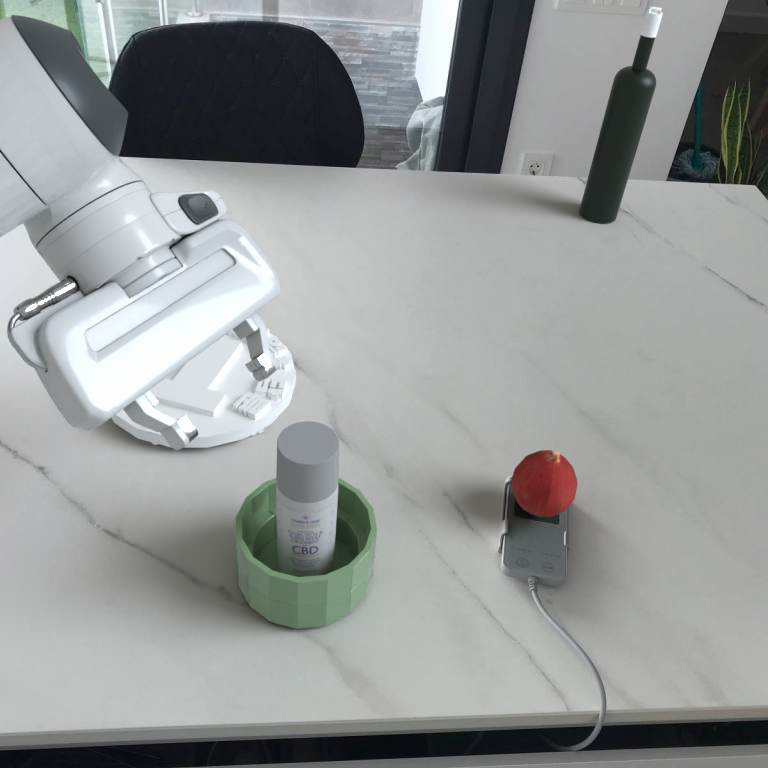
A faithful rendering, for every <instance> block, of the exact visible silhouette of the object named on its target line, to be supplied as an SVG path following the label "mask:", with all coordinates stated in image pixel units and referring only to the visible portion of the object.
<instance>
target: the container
mask: <svg viewBox="0 0 768 768" xmlns="http://www.w3.org/2000/svg"><path fill="white" fill-rule="evenodd" d="M339 470H340V439H339V436H338V434H337V433H336V431H335V430H333V429H332V428H331V427H330V426H328V425H326V424H325V423H322V422H317V421H313V420H312V421H311V420H310V421H309V420H305V421H297V422H295V423H294V422H293V423H291V424H290V425H288V426H287V427H285V428H284V429H282V431H281V432H280V433H279V435H278V437H277V441H276V472H275V473H276V477H275V478H276V517H277V569H278V572H281V573H284V574H288V575H292V576H296V577H305V576H317V575H326V574H328V573H331V572H333V568H334V552H335V536H336V520H337V503H338V478H340V477H339V474H340V473H339V472H340V471H339Z"/></svg>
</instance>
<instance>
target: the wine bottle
mask: <svg viewBox="0 0 768 768" xmlns="http://www.w3.org/2000/svg"><path fill="white" fill-rule="evenodd" d="M662 9H663V7H659V6H652V5H650V6H649V9H647V10H646V11H645V13H644V14H645V15H644V19H643V23H642V25H641V29H640V33H639V39H638V43H637V46H636V49H635V50H636V51H635V54H634V57H633V61H632V64H631V65H628V66H625V67H622V68H620V69H619V70H618V71H617V72H616V74H615V75H614V77H613V81H612V84H611V85H612V86H611V89H610V92H609V97H608V100H607V104H606V108H605V111H604V115H603V119H602V123H601V126H600V129H599V134H598V138H597V141H596V145H595V149H594V152H593V157H592V160H591V165H590V168H589V172H588V175H587V180H586V183H585V187H584V191H583V195H582V199H581V201H580V206H579V210H578V212H579V215H580V216H581V217H582V218H584V219H585V220H587V221H588V222H592V223H596V224H611V223H613V222H615V221H616V220H617V217H618V214H619V211H620V207H621V204H622V201H623V198H624V194H625V191H626V187H627V183H628V180H629V177H630V174H631V170H632V167H633V164H634V161H635V158H636V154H637V151H638V147H639V144H640V142H641V141H640V140H641V138H642V134H643V131H644V128H645V123H646V121H647V117H648V114H649V111H650V107H651V103H652V101H653V97H654V93H655V91H656V88H657V78H656V75H655V73H653V71H651V70H650V69H649V68H648V64H649V61H650V58H651V54H652V51H653V48H654V43H655V40H656V37H657V35H658V32H659V29H660V25H661V22H662V19H663V15H664V12H662Z"/></svg>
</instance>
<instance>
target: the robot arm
mask: <svg viewBox="0 0 768 768" xmlns="http://www.w3.org/2000/svg"><path fill="white" fill-rule="evenodd" d="M128 119H129V112H128V110H127V109H126V108H125V106H124V105H123V104H122V103H121V101H119V100H118V99H117V97H116V96H115V95H114V93H112V92H111V90H110V89H109V88H108V87H107V86H106V85H105V84H104V83H103V81H102V80H101V78H100V77H99V76H98V75H97V73H96V72H95V71H94V69H93V68H92V66H91V65H90V63H89V61H88V60H87V58H86V55H85V53H84V50H83V48H82V47H81V45H80V42H79V41H78V39H77V37H76V36H75V34H74V33H73V32H72V31H71V30H70V29H67V28H65V27H61V26H59V25H56V24H53V23H50V22H48V21H45V20H41V19H37V18H35V17H30V16H24V15H17V14H11V15H10V16H9V17H5V18H0V238H2V237H4V236H5V235H7V234H9V233H10V232H12V231H13V230H15V229H17V228H18V227H20V226H22V225H23V226H24V227H25V230H26V232H27V236H28V238H29V240H30V242H31V244H32V246H33V248H34V249H35V250H36V252H37V253H38V255H39V256H40V257H41V258H42V260H43V261H44V262H45V264H46V265H47V266H48V268H49V269H50V270H51V271H52V273H53V274H54V276H55V277H56V278H57V279H58V281H59V282H57V283H55V284H53V285H51V286H50V287H48V288H46V289H45V290H44V291H43V292H41V293H39V294H38V295H36V296H33V297H31V298H27V299H25V300H23V301H22V302H20V303H18V304H17V305H16V306H15V307H14V308H13V314H12V316H11V317H10V318H9V320H8V321H7V322H8V323H7V327H6V334H7V339H8V342H9V343H10V345H11V346H12V347H13V349H14V350H15V351H16V353H17V354H18V355H19V356H20V358H21V359H22V361H24V362H25V364H27V365H28V366H30V367H31V368H33V369H34V371H35V372H36V374H37V377H38V378H39V380H40V381H41V384H42V386H43V387H44V389H45V391H46V392H47V394H48V395H49V397H50V399H51V400H52V402H53V403H54V405H55V407H56V408H57V409H58V411H59V412H60V414H61V415H62V417H63V419H65V421H66V422H67V423H68V424H69V425H70V426H71V427H74V428H77V429H80V430H82V431H83V430H84V431H86V432H87V431H93V429H96V428H98V427H100V426H101V425H103V424H104V423H106V422H107V421H108V420H110V419H112V418H111V417H113V416H114V415H115V414H117V413H118V412H120V411H121V410H122V409H123V410H124V411H125V412H126V414H127V415H128V416H129V417H130V419H131V420H132V421H133V422H135V423H137V424H140V425H142V426H144V427H147V428H149V429H151V430H154V431H156V432H160V433H161V434H162V435H163V437H164V438H165V439H166V441H167V442H168V443H169V445H170V446H171V447H170V448H172V449H173V450H174V451H179V450H182V449H184V447H185V446H187V445H188V444H189V443H190V442H191V441H192V440H194V439H195V438H196V437H197V436H198V430H197V429H196V428H195V427H193V426H192V424H191V421H190V420H189V418H188V417H187V416H186V415H184V416H182V417H180V418H179V419H174V418H172V417H170V416H169V415H167V414H165V413H163V412H161V411H159V410H157V409H155V408H154V407H155V406H157V405H158V404H159V401H158V400H157V398H156V397H155V395H154V394H153V393H152V391H151V390H150V389H151V388H153V387H154V386H155V385H157V384H158V383H160V382H161V381H162V380H164V379H165V378H166V377H168V376H169V375H171V374H172V373H173V372H175V371H176V370H177V369H179V368H180V367H182V366H183V365H184V364H186V363H187V362H189V361H190V360H191V359H193V358H194V357H195V356H197V355H198V354H200V353H201V352H202V351H204V350H205V349H206V348H208V347H209V346H211V345H212V344H213V343H215V342H216V341H217V340H219V339H220V338H222V337H223V336H224V335H226V334H227V333H229V332H230V331H231V330H233V331H234V332H235V333H236V335H237V336H238V338H239V339H243V338H245V337H246V341H247V345H248V350H249V354H250V358H251V360H250V361H249V362H248V363H247V364H245V365H246V367H247V368H248V370H249V371H250V372H252V373H253V377H254V378H255V379H256V380H257V381H262V380H264V379H266V378H268V377H269V376H271V375H272V374H273V373H274V372H275V371H277V370H278V369H279V363H278V362H277V360H276V359H275V358H274V356H273V355H272V353H271V352H270V350H269V343H268V336H267V330H266V328H267V324H266V323H265V321H264V320H263V318H262V316H261V315H260V314H259V311H261V310H262V309H263V308H264V307H266V306H267V305H269V304H270V303H271V302H273V301H274V300H275V299H277V298H278V297H280V295H281V293H282V288H281V287H282V286H281V279H280V276H279V274H278V272H277V271H276V269H275V267H274V266H273V264H272V263H271V262H270V260H269V258H268V257H267V256H266V254H265V253H264V251H263V250H262V248H261V247H260V246H259V244H258V243H257V242H256V241H255V240H254V238H253V237H252V236H251V234H250V233H249V232H248V231H247V230H246V229H245V228H244V227H243V226H242V225H240V223H238V222H236V221H234V220H232V219H229V218H223V217H224V216H225V215H226V214H227V212H228V207H227V204H226V203H225V200H224V199H223V198H222V196H221V195H220V194H219V193H218V192H217V191H215V190H213V189H199V190H190V191H171V192H169V191H167V192H166V191H159V192H158V191H157V192H153V193H152V191H151V190H150V189H149V187H148V186H147V184H146V183H145V181H144V180H143V179H142V178H141V177H140V175H139V174H137V173H136V172H135V171H134V170H133V169H132V168H131V167H129V166H128V165H127V164H126V163H125V162H124V161H123V160H122V159H121V157H120V153H121V150H122V146H123V143H124V142H123V141H124V139H125V133H126V129H127V124H128ZM18 321H20V323H18V324H17V322H18Z"/></svg>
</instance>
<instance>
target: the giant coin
mask: <svg viewBox="0 0 768 768" xmlns="http://www.w3.org/2000/svg"><path fill="white" fill-rule="evenodd" d="M266 330H267V336H268V343H269V350H270V352H271V353H272V355H273V356H274V358H275V359H276V360H277V362H278V363H279V369H278V370H277V371H275V372H274V373H273V374H272V375H271V376H269V377H268V378H266V379H264V380H262V381H257V380H256V379H255V378H254V377H253V373H252V372H250V371H249V370H248V368H247V367H246V365H245V364H247V363H248V362H249V361H250V360H251V358H250V354H249V350H248V345H247V341H246V337H245V338H243V339H239V338H238V336H237V335H236V333H235V332H234V331H233V330H231V331H230V332H229V333H227V334H226V335H224V336H223V337H222V338H220V339H219V340H217V341H216V342H215V343H213V344H212V345H211V346H209V347H208V348H206V349H205V350H204V351H202V352H201V353H200V354H198V355H197V356H195V357H194V358H193V359H191V360H190V361H189V362H187V363H186V364H184V365H183V366H182V367H180V368H179V369H177V370H176V371H175V372H173V373H172V374H171V375H169V376H168V377H166V378H165V379H164V380H162V381H161V382H160V383H158V384H157V385H155V386H154V387H153V388H151V389H150V390H151V391H152V393H153V394H154V395H155V397H156V398H157V400H158V401H159V404H158V405H157V406H155V407H154V408H155V409H157V410H159V411H161V412H163V413H165V414H167V415H169V416H170V417H172V418H174V419H179V418H180V417H182V416H184V415H186V416H187V417H188V418H189V420H190V421H191V424H192V426H193V427H195V428H196V429H197V430H198V436H197V437H196V438H195V439H194V440H192V441H191V442H190V443H189V444H188V445H187V446H185V447H184V448H186V449H187V448H197V449H199V448H200V449H201V448H202V449H203V448H207V449H209V448H212V447H216V446H220V445H221V446H222V445H225V444H229V443H232V442H233V443H234V442H237V441H242V440H245V439H247V438H249V437H254V436H256V435H258V434H262V433H264V432H265V428H266V427H269V426H271V425H273V423H274V422H275V421H276V419H277V418H279V416H280V415H281V414H282V413H283V412H284V411H285V410H286V409H287V408H288V407H289V406H290V404H291V401H292V398H293V395H294V391H295V388H296V384H297V371H296V367H295V363H294V360H293V355H292V352H291V351H290V350H289V349H288V346H287V345H285V344H284V343H283V342H282V341H281V339H279V338H278V337H277V336H276V334H275V335H274V333H271V332H270V327H269V328H268V327H266ZM110 419H111V421H112V422H113V423H114V424H115V425H117V426H118V427H120V428H121V429H123V430H124V431H126V432H127V433H129V434H130V435H132V436H133V437H135V438H136V439H138V440H142V441H145V442H149V443H151V445H154V446H158V445H161V446H164V447H167V448H172V447H171V446H170V445H169V443H168V442H167V441H166V439H165V438H164V437H163V435H162V434H161V433H160V432H156V431H154V430H151V429H149V428H147V427H144V426H142V425H140V424H137V423H135V422H133V421H132V420H131V419H130V417H129V416H128V415H127V414H126V412H125V411H124V410H123V409H122V410H121V411H120V412H118V413H117V414H115V415H114V416H113V417H111V418H110ZM184 448H183V449H184Z"/></svg>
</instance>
